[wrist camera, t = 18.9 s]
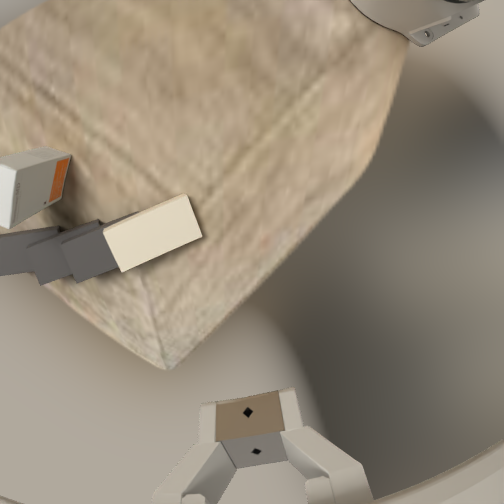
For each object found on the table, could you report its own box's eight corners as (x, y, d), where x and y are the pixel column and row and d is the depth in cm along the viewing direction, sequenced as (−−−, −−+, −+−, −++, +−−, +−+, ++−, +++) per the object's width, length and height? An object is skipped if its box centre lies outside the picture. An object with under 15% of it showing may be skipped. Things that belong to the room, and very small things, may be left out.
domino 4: (187, 195, 34) (102, 232, 32) (202, 236, 36) (121, 272, 34) (184, 193, 36) (103, 228, 33) (199, 232, 38) (121, 267, 35)
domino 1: (57, 229, 34) (-11, 239, 30) (63, 267, 36) (-3, 276, 32) (59, 225, 36) (-6, 235, 32) (65, 262, 37) (1, 271, 33)
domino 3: (139, 213, 35) (60, 244, 32) (153, 253, 37) (76, 283, 34) (138, 211, 36) (62, 240, 33) (151, 249, 38) (78, 277, 35)
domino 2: (97, 222, 34) (25, 249, 31) (110, 260, 36) (40, 285, 33) (98, 219, 36) (28, 244, 33) (110, 255, 38) (42, 280, 35)
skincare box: (62, 199, 35) (9, 232, 24) (37, 189, 34) (-20, 219, 23) (73, 152, 33) (17, 170, 22) (46, 144, 32) (-14, 159, 21)
